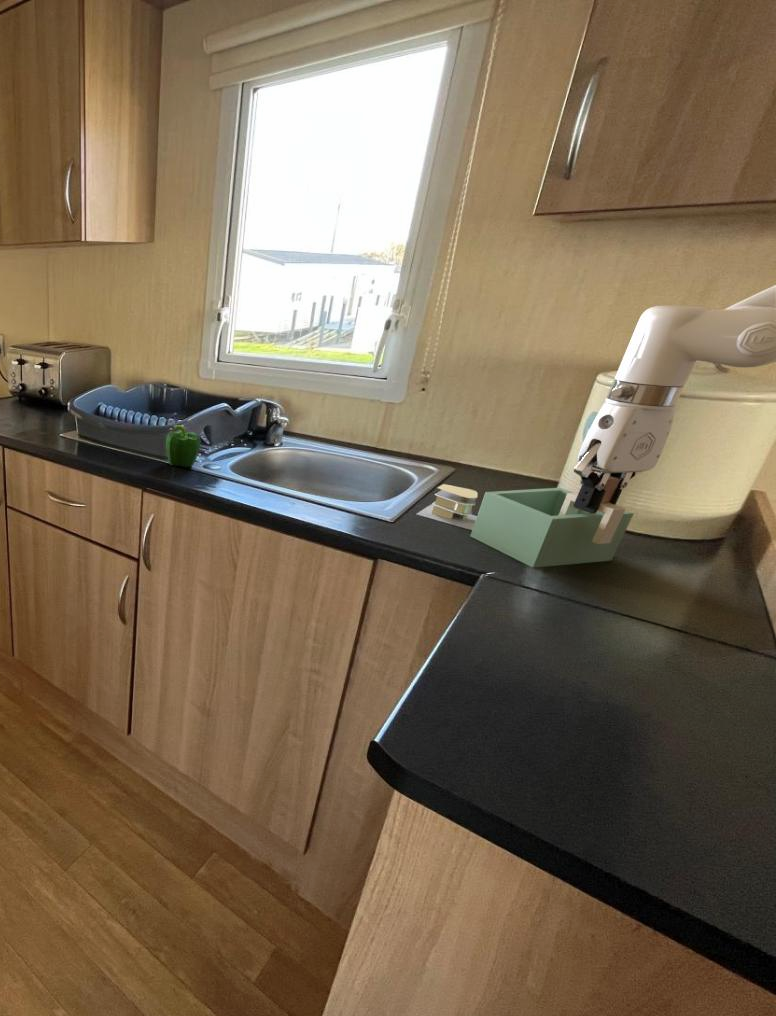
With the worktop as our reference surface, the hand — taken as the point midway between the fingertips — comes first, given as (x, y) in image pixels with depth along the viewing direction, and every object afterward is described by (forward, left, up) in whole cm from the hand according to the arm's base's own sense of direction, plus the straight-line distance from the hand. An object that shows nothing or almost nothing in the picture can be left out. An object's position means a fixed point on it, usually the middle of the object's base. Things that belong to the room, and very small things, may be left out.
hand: (592, 508), depth 89 cm
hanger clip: (0, 0, -5) cm, 5 cm away
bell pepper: (+46, -61, -10) cm, 77 cm away
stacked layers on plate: (+4, -21, -10) cm, 23 cm away
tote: (0, -6, -10) cm, 11 cm away
